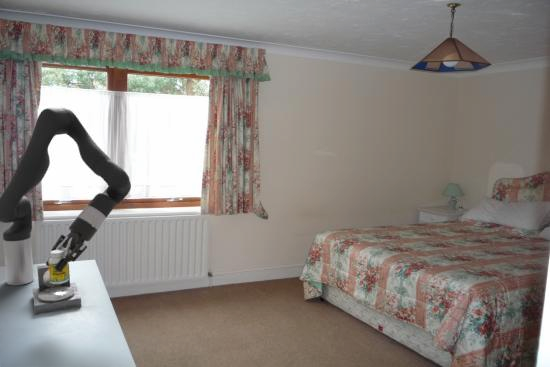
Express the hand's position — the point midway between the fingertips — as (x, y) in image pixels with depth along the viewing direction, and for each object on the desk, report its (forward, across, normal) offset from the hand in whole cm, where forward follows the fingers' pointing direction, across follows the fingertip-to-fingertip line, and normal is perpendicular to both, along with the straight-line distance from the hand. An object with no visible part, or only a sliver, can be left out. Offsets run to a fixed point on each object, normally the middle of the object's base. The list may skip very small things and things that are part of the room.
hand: (52, 268), depth 144 cm
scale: (+7, -17, +18) cm, 26 cm away
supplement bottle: (+2, 0, +5) cm, 5 cm away
